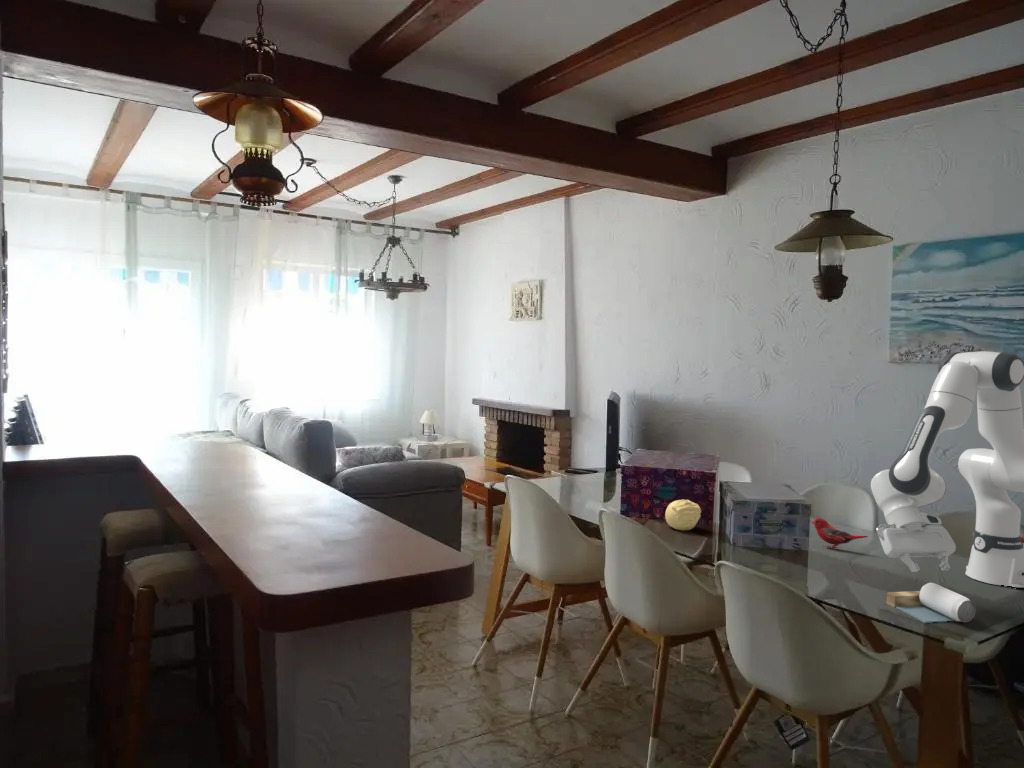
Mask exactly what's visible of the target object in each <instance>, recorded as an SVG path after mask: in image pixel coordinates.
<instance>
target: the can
mask: <svg viewBox="0 0 1024 768" xmlns="http://www.w3.org/2000/svg"><path fill="white" fill-rule="evenodd" d="M919 591H920V592H919V598H920V601H921V603H922V604H923V605H925V606H927V607H929V608H931V609H933V610H935V611H937V612H939V613H941V614H943V615H945V616H947V617H950V618H952V619H954V620H956V622H962V623H968V622H971V620H973V618H975V615H976V604H975V603H974V602H973V601H971V600H970V599H969V598H968V597H966V596H964V595H962V594H959V593H958V592H955V591H953V590H951V589H948V588H947V587H943V586H942V585H939V584H937V583H934V582H928V583H926V584H923V586H922V587H921V588H920V590H919Z"/></svg>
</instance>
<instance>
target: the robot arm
mask: <svg viewBox="0 0 1024 768" xmlns="http://www.w3.org/2000/svg"><path fill="white" fill-rule="evenodd" d="M1023 381H1024V361H1023V359H1022V358H1021V357H1020V356H1019V355H1018V354H1014V353H1012V352H1011V353H1010V352H1004V351H1002V352H997V351H996V352H995V351H985V350H983V351H982V350H981V351H969V352H968V351H967V352H960V351H959V352H957V351H955V352H951V353H948V354H946V355H945V356H944V357H943V358H942V359H941V360H940V361H939V364H938V367H937V376H936V377H935V380H934V382H933V383H932V387H931V389H930V392H929V395H928V398H927V401H926V404H925V405H924V408H923V410H922V411H921V412H920V413H919V416H918V417H917V419H916V421H915V424H914V426H913V428H912V430H911V433H910V435H909V438H908V439H907V442H906V444H905V446H904V448H903V450H902V452H901V453H900V455H899V456H898V457H897V458H896V459H895V460H894V461H893V463H892V464H891V466H890V467H889V469H888V468H886V469H883V470H880V471H878V472H877V473H876V474H875V475H873V477H872V478H871V481H870V489H871V493H872V495H873V497H874V500H875V502H876V504H877V506H878V508H879V509H880V511H882V512H883V515H884V519H885V521H886V523H887V524H879V525H878V526H877V527H876V532H877V536H878V537H879V541H880V544H881V546H882V550H883V551H884V552H883V553H884V554H885V555H886V556H887V557H888V558H891V559H894V558H900V561H901V562H902V563H904V564H905V565H906V566H907V567H908V568H909V570H910V572H911V573H914V572H918V571H920V570H921V568H920V566H919V564H918V563H917V562H914V561H913V560H912V559H911V558H923V557H924V558H925V557H926V558H927V557H936V558H938V560H940V563H939V565H938V566H939V567H940V570H941V571H946V572H947V571H949V570H950V569H951V566H950V563H949V556H951V555H952V554H954V552H956V550H957V549H956V548H957V545H956V543H955V541H954V540H953V538H952V536H951V535H950V533H949V532H948V530H947V529H946V528H945V526H943V525H942V523H943V522H942V520H941V518H940V517H939V516H935V515H931V514H928V513H926V512H922V511H919V510H920V509H918V508H921V507H925V506H928V505H932V504H935V503H937V502H940V500H942V498H943V497H944V496H945V494H946V491H947V483H946V480H944V478H943V477H942V476H941V475H940V474H939V473H937V472H936V471H935V470H934V469H932V468H931V466H930V463H929V460H930V456H931V454H932V452H933V449H934V448H935V445H936V442H937V440H938V438H939V436H940V435H941V433H943V432H944V431H949V430H950V431H951V430H955V429H958V428H960V427H963V426H964V425H965V424H966V422H967V421H968V419H969V418H970V415H971V413H972V411H973V407H974V404H975V401H976V407H977V408H976V409H977V410H976V412H977V427H978V432H979V435H981V437H983V439H985V440H986V441H988V443H989V444H990V445H991V447H992V448H993V449H990V448H986V447H985V448H984V447H982V448H981V447H980V448H979V447H978V448H977V447H976V448H968V449H965V450H964V451H963V452H962V453H961V454H960V456H959V457H958V462H957V467H958V471H959V473H960V475H961V476H963V478H964V479H965V480H966V482H967V483H968V484H969V486H970V488H971V490H972V492H973V495H974V499H975V507H976V511H975V513H976V514H975V527H974V529H973V532H972V541H973V542H972V543H973V544H972V545H971V550H970V554H969V555H970V556H969V559H968V563H967V565H966V566H965V575H966V576H967V577H969V578H971V579H973V580H976V581H979V582H983V583H986V584H991V585H995V586H1001V585H1004V586H1003V587H1007V586H1012V587H1024V545H1023V544H1024V536H1020V530H1021V518H1022V511H1021V509H1020V508H1019V506H1018V505H1017V504H1016V503H1014V502H1013V500H1012V499H1011V498H1010V496H1009V495H1008V491H1007V490H1009V491H1013V492H1017V493H1024V419H1023V404H1022V403H1023V402H1022V395H1021V394H1022V393H1021V390H1020V389H1021V388H1020V385H1021V383H1022V382H1023Z"/></svg>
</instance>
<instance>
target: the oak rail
mask: <svg viewBox="0 0 1024 768" xmlns="http://www.w3.org/2000/svg"><path fill="white" fill-rule="evenodd" d="M919 592H920V590H913V591H912V590H911V591H908V590H907V591H887V592H886V604H887V605H889V606H891V607H892V608H896V607H899V606H920V605H923V604H922V603H921V601H920V598H919Z"/></svg>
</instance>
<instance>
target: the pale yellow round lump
mask: <svg viewBox="0 0 1024 768" xmlns="http://www.w3.org/2000/svg"><path fill="white" fill-rule="evenodd" d="M701 513H702V509H701V507H700V506H699V504H698V503H695V502H693V501H691V500H689V499H678V500H674V501H672V502H670V503H669V504H668V506H667V507H666V510H665V514H664V517H665V521H666V523H667V524H668V526H669V527H671V528H673V529H675V530H678V531H691V530H692V529H694V528H695V527H696V525H697V523H698V522H699V520H700V519H701V517H702V516H701Z"/></svg>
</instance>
